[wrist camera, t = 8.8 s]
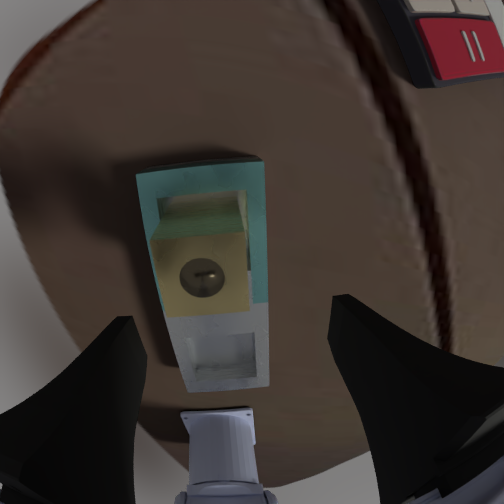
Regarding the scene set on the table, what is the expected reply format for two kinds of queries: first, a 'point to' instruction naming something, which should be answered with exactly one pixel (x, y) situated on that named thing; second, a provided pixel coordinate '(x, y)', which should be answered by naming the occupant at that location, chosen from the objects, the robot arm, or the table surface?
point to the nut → (201, 258)
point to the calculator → (448, 39)
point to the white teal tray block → (256, 320)
